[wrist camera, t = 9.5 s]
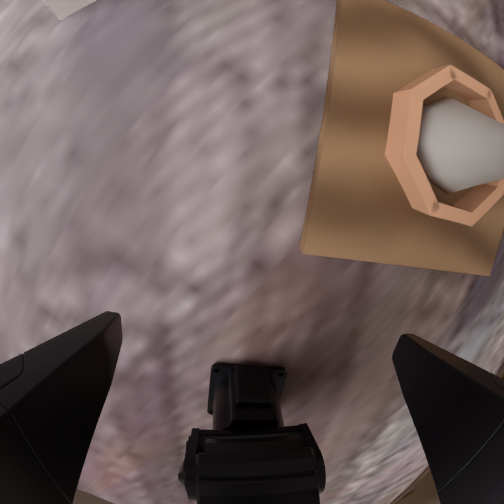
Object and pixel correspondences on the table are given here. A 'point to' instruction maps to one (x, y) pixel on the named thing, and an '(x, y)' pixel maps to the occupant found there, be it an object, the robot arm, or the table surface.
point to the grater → (66, 6)
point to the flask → (459, 146)
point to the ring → (407, 135)
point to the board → (374, 145)
